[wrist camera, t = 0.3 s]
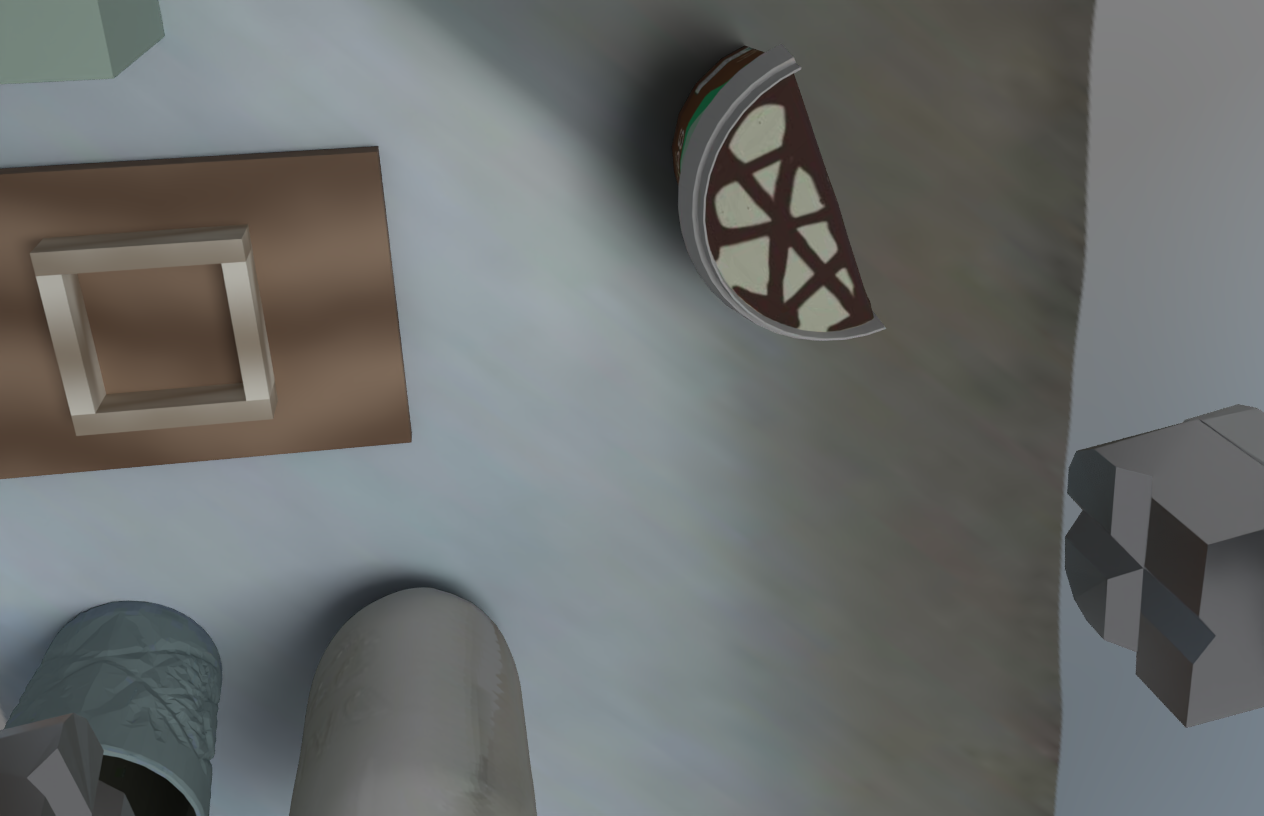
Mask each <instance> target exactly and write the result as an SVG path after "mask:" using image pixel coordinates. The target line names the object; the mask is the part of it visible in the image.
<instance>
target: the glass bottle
mask: <svg viewBox="0 0 1264 816" xmlns="http://www.w3.org/2000/svg"><path fill="white" fill-rule="evenodd" d="M289 816H537V812H536V803H535V794H534V786H533V779H532V773H531V766H530V758H529V749H528V741H527V733H526V725H525V717H524V709H523V701H522V693H521V686H520V681H519V676H518V673H517V669H516V666H515V663H514V660H513V657H512V654H511V652H510V649H509V647H508V645H507V643H506V641H505V639H504V637H503V635H502V633H501V632H500V630H499V629H498V627H497V626H496V624H495V623H494V622H493V621H492V620H491V619H490V618H489V617H488V616H487V615H486V614H485V613H484V612H483V611H482V610H481V609H479V608H478V607H477V606H475V605H474V604H473V603H472V602H469V601H467V600H465V599H463V598H460V597H458V596H456V595H454V594H451V593H448V592H444V591H441V590H437V589H435V588H424V587H420V588H411V589H406V590H401V591H398V592H395V593H392V594H390V595H387V596H385V597H383V598H381V599H379V600H377V601H375V602H373V603H371V604H369V605H368V606H366V607H364V608H363V609H362V610H360V611H359V612H357V613H356V614H355V615H354V616H352V617H351V618H350V619H349V620H348V621H347V622H346V623H345V624H344V625H343V626H342V628H341V629H340V630H339V631H338V632H337V634H336V635H335V636H334V638H333V639H332V641H331V642H330V644H329V645H328V647H327V649H326V650H325V652H324V654H323V656H322V658H321V660H320V662H319V665H318V667H317V670H316V672H315V675H314V678H313V682H312V685H311V690H310V694H309V698H308V704H307V710H306V716H305V724H304V731H303V738H302V746H301V753H300V758H299V764H298V769H297V774H296V779H295V784H294V790H293V795H292V801H291V808H290V814H289Z"/></svg>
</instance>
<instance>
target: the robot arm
mask: <svg viewBox="0 0 1264 816" xmlns="http://www.w3.org/2000/svg"><path fill="white" fill-rule="evenodd" d="M1067 493H1068V494H1069V496H1070V497H1071V498H1072V499H1073V500H1074V501H1075V502H1076V503H1077V504H1078V505H1079V506H1080V507H1081V509H1082V512H1081V513H1080V515H1079V516H1078V518H1077V520H1076V521H1075V523H1074V524H1073V526H1072V527H1071V529H1070V530H1069V531H1068V533H1067V535H1066V536H1065V570H1066V574H1067V577H1068V580H1069V583H1070V587H1071V590H1072V594H1073V597H1074V600H1075V601H1076V603H1077V605H1078V607H1079V608H1080V610H1081V612H1082V613H1083V615H1084V617H1085V619H1086V620H1087V621H1088V623H1089V624H1090V625H1091V626H1092V627H1093V628H1094V629H1095V630H1096V631H1097V633H1098V634H1099V635H1100V636H1101V637H1102V638H1103V639H1104V640H1106V641H1108V642H1111V643H1114V644H1117V645H1119V646H1122V647H1125V648H1127V649H1130V650H1132V651H1135V652H1137V655H1136V675H1137V676H1138V677H1139V678H1140V679H1141V680H1142V681H1143V682H1144V683H1145V685H1146V686H1147V687H1148V688H1149V689H1150V690H1151V691H1152V692H1153V693H1154V694H1155V695H1156V696H1157V697H1158V698H1159V700H1160V701H1161V702H1162V703H1163V704H1164V705H1165V706H1166V707H1167V708H1168V709H1169V710H1170V711H1171V712H1172V713H1173V714H1174V715H1175V717H1176V718H1177V719H1178V720H1179V721H1180V722H1181V723H1182V724H1183V725H1184V726H1185V727H1186V728H1188V727H1192V726H1195V725H1199V724H1203V723H1206V722H1210V721H1214V720H1217V719H1221V718H1225V717H1229V716H1232V715H1236V714H1239V713H1243V712H1247V711H1251V710H1254V709H1258V708H1262V707H1264V412H1262V411H1261V410H1259V409H1257V408H1254V407H1250V406H1244V405H1239V404H1238V405H1234V406H1231V407H1227V408H1224V409H1220V410H1217V411H1214V412H1210V413H1207V414H1203V415H1200V416H1197V417H1193V418H1190V419H1186V420H1185V421H1184V422H1183V423H1180V424H1176V425H1172V426H1168V427H1165V428H1161V429H1157V430H1153V431H1150V432H1146V433H1142V434H1139V435H1135V436H1131V437H1127V438H1123V439H1120V440H1116V441H1112V442H1108V443H1105V444H1101V445H1097V446H1094V447H1090V448H1086V449H1082V450H1078V451H1076V453H1075V455H1074V458H1073V460H1072V462H1071V464H1070V467H1069V474H1068V490H1067ZM103 753H104V750H103V748H102V746H101V744H100V742H99V741H98V739H97V737H96V735H95V733H94V731H93V729H92V728H91V726H90V724H89V722H88V720H87V719H86V718H84V717H82V716H79V715H77V714H75V713H70V714H66V715H62V716H58V717H54V718H50V719H45V720H41V721H37V722H33V723H29V724H25V725H20V726H16V727H12V728H8V729H4V730H0V816H135V815H134V812H133V810H132V808H131V806H130V804H129V802H128V799H127V797H126V795H125V793H123V792H121V791H119V790H117V789H115V788H113V787H111V786H109V785H107V784H105V783H103V782H101V781H99V780H98V779H99V774H100V769H101V764H102V758H103Z"/></svg>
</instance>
